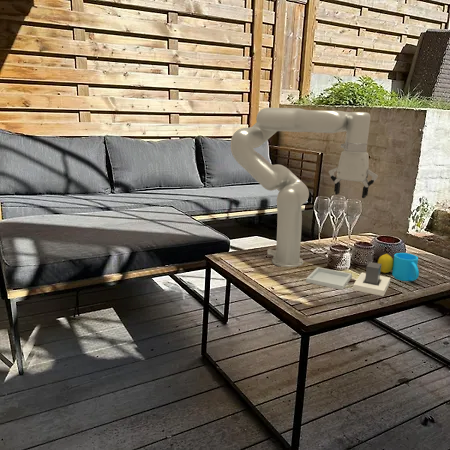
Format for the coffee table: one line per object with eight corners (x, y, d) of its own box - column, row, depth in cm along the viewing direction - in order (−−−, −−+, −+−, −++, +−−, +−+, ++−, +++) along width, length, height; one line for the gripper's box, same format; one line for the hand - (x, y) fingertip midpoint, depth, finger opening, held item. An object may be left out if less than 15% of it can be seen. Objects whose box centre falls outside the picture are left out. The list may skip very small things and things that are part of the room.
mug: (387, 273, 160) (389, 253, 157) (407, 272, 161) (409, 252, 159) (405, 286, 148) (408, 264, 146) (426, 284, 150) (429, 263, 147)
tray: (305, 283, 149) (306, 278, 149) (317, 271, 160) (317, 267, 160) (342, 291, 143) (342, 286, 143) (351, 278, 154) (352, 273, 154)
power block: (352, 291, 143) (353, 283, 143) (361, 278, 154) (361, 271, 153) (383, 297, 139) (384, 289, 138) (389, 284, 150) (390, 276, 149)
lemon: (393, 277, 156) (395, 256, 154) (377, 275, 157) (379, 255, 155) (390, 271, 161) (393, 252, 159) (375, 270, 162) (377, 251, 160)
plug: (364, 287, 145) (366, 266, 143) (367, 283, 149) (369, 261, 147) (376, 290, 143) (378, 268, 141) (378, 285, 148) (381, 264, 145)
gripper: (328, 147, 149) (323, 194, 154) (378, 150, 140) (372, 200, 145) (334, 145, 155) (330, 191, 160) (383, 149, 147) (377, 197, 151)
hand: (350, 195), depth 152 cm, fingers open, 9 cm apart
